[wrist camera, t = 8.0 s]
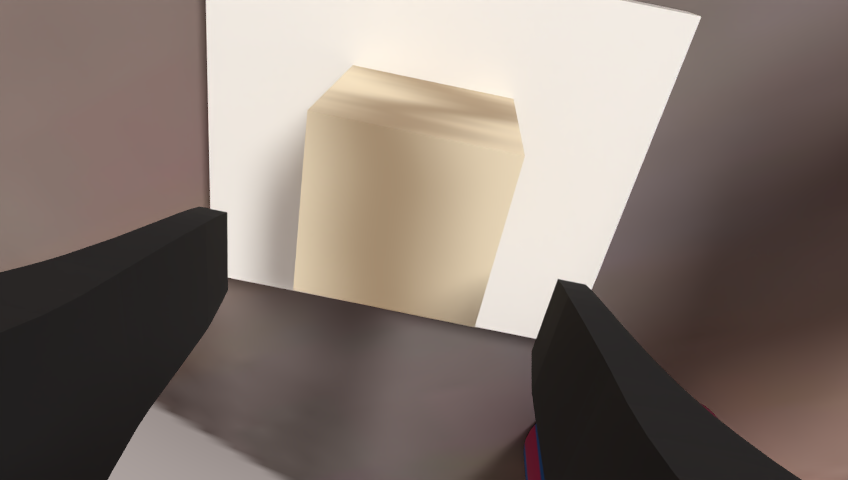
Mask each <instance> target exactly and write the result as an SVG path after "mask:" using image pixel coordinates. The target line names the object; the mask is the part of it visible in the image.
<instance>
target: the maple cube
mask: <svg viewBox="0 0 848 480" xmlns="http://www.w3.org/2000/svg"><path fill="white" fill-rule="evenodd" d="M524 157H525V154H524V149H523V144H522V139H521V134H520V129H519V124H518V119H517V114H516V109H515V104H514V99H512V98H507V97H502V96H497V95H493V94H488V93H483V92H478V91H474V90H469V89H464V88H459V87H455V86H450V85H445V84H440V83H436V82H431V81H426V80H421V79H417V78H412V77H407V76H402V75H398V74H393V73H388V72H383V71H379V70H374V69H369V68H364V67H359V66H355V65H352V66H351V67H350V68H349V69H348V70H347V71H346V72H345V73H344V74H343V75H342V76H341V77H340V78H339V79H338V80H337V81H336V82H335V83H334V84H333V85H332V86H331V87H330V88H329V89H328V90H327V91H326V92H325V93H324V94H323V95H322V96H321V97H320V98H319V99H318V100H317V101H316V102H315V103H314V104H313V105H312V106H311V107H310V108H309V109H308V110H307V121H306V133H305V146H304V159H303V171H302V184H301V197H300V209H299V222H298V235H297V247H296V260H295V273H294V285H293V290H295V291H300V292H305V293H310V294H315V295H320V296H324V297H329V298H334V299H339V300H344V301H349V302H354V303H359V304H363V305H368V306H373V307H378V308H383V309H388V310H393V311H397V312H402V313H407V314H412V315H417V316H422V317H427V318H431V319H436V320H441V321H446V322H451V323H456V324H461V325H466V326H470V327H475V324H476V321H477V317H478V314H479V311H480V307H481V304H482V300H483V297H484V294H485V290H486V287H487V283H488V280H489V277H490V273H491V270H492V266H493V263H494V260H495V256H496V253H497V249H498V246H499V243H500V239H501V236H502V232H503V229H504V226H505V222H506V219H507V215H508V212H509V208H510V205H511V202H512V198H513V195H514V191H515V188H516V185H517V181H518V178H519V174H520V171H521V168H522V164H523V161H524Z"/></svg>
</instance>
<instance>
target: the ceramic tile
mask: <svg viewBox="0 0 848 480" xmlns="http://www.w3.org/2000/svg"><path fill="white" fill-rule="evenodd" d="M700 18H701V16H698V15H696V14H693V13H690V12H687V11H682V10H677V9H672V8H668V7H663V6H658V5H653V4H648V3H643V2H638V1H633V0H206V31H207V78H208V124H209V170H210V209H213V210H218V211H223V212H227V234H228V278H233V279H238V280H243V281H248V282H253V283H258V284H263V285H268V286H273V287H278V288H283V289H288V290H293V285H294V273H295V260H296V247H297V235H298V222H299V209H300V197H301V184H302V171H303V159H304V146H305V133H306V121H307V110H308V109H309V108H310V107H311V106H312V105H313V104H314V103H315V102H316V101H317V100H318V99H319V98H320V97H321V96H322V95H323V94H324V93H325V92H326V91H327V90H328V89H329V88H330V87H331V86H332V85H333V84H334V83H335V82H336V81H337V80H338V79H339V78H340V77H341V76H342V75H343V74H344V73H345V72H346V71H347V70H348V69H349V68H350V67H351V66H352V65H355V66H359V67H364V68H369V69H374V70H379V71H383V72H388V73H393V74H398V75H402V76H407V77H412V78H417V79H421V80H426V81H431V82H436V83H440V84H445V85H450V86H455V87H459V88H464V89H469V90H474V91H478V92H483V93H488V94H493V95H497V96H502V97H507V98H512V99H514V104H515V109H516V114H517V119H518V124H519V129H520V134H521V139H522V144H523V149H524V154H525V157H524V161H523V164H522V168H521V171H520V174H519V178H518V181H517V185H516V188H515V191H514V195H513V198H512V202H511V205H510V208H509V212H508V215H507V219H506V222H505V226H504V229H503V232H502V236H501V239H500V243H499V246H498V249H497V253H496V256H495V260H494V263H493V266H492V270H491V273H490V277H489V280H488V283H487V287H486V290H485V294H484V297H483V300H482V304H481V307H480V311H479V314H478V317H477V321H476V324H475V327H479V328H484V329H489V330H494V331H499V332H504V333H509V334H514V335H519V336H525V337H530V338H535V339H536V338H537V335H538V333H539V330H540V327H541V324H542V322H543V319H544V316H545V313H546V310H547V308H548V305H549V302H550V299H551V297H552V294H553V291H554V288H555V285H556V283H557V280H558V279H561V280H566V281H571V282H576V283H581V284H585V285H587V286H588V287H589V288H590V289H591V290H592V287H593V285H594V282H595V280H596V277H597V275H598V272H599V270H600V268H601V265H602V263H603V260H604V258H605V255H606V253H607V250H608V248H609V245H610V243H611V240H612V238H613V235H614V233H615V230H616V228H617V225H618V223H619V220H620V218H621V215H622V213H623V210H624V208H625V205H626V203H627V200H628V198H629V195H630V193H631V190H632V188H633V185H634V183H635V180H636V178H637V175H638V173H639V170H640V168H641V165H642V163H643V160H644V158H645V155H646V153H647V150H648V148H649V145H650V143H651V140H652V138H653V135H654V133H655V130H656V128H657V125H658V123H659V120H660V118H661V115H662V113H663V110H664V108H665V106H666V103H667V101H668V98H669V96H670V93H671V91H672V88H673V86H674V83H675V81H676V78H677V76H678V73H679V71H680V68H681V66H682V63H683V61H684V58H685V56H686V53H687V51H688V48H689V46H690V43H691V41H692V38H693V36H694V33H695V31H696V28H697V26H698V23H699V21H700ZM293 291H295V290H293ZM298 292H300V291H298ZM303 293H305V292H303ZM308 294H310V293H308ZM313 295H315V294H313ZM318 296H320V295H318ZM323 297H324V296H323ZM328 298H329V297H328ZM333 299H334V298H333ZM338 300H339V299H338ZM343 301H344V300H343ZM348 302H349V301H348ZM353 303H354V302H353ZM358 304H359V303H358Z"/></svg>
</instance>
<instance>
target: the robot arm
mask: <svg viewBox="0 0 848 480" xmlns="http://www.w3.org/2000/svg"><path fill="white" fill-rule="evenodd" d="M227 291H228V234H227V212H223V211H218V210H213V209H208V208H203V207H197V208H193V209H190V210H187V211H184V212H181V213H178V214H175V215H173V216H170V217H168V218H165V219H162V220H160V221H157V222H155V223H152V224H149V225H147V226H144V227H142V228H139V229H136V230H134V231H131V232H129V233H126V234H123V235H121V236H118V237H115V238H113V239H110V240H107V241H104V242H101V243H98V244H95V245H92V246H89V247H86V248H83V249H80V250H78V251H75V252H72V253H69V254H66V255H63V256H59V257H56V258H53V259H49V260H46V261H42V262H39V263H35V264H32V265H28V266H24V267H20V268H16V269H12V270H8V271H4V272H0V480H107V479H108V478H109V476H110V474H111V472H112V470H113V469H114V467H115V465H116V463H117V462H118V460H119V458H120V457H121V455H122V453H123V451H124V450H125V448H126V446H127V444H128V443H129V441H130V439H131V437H132V436H133V434H134V432H135V430H136V429H137V427H138V425H139V424H140V422H141V421H142V420H143V418H144V417H145V415H146V413H147V412H148V410H149V409H150V407H151V406H152V405H153V403H154V402H155V401H156V399H157V398H158V397H159V395H160V394H161V392H162V391H163V390H164V388H165V387H166V386H167V384H168V383H169V381H170V380H171V379H172V377H173V376H174V375H175V373H176V372H177V370H178V369H179V368H180V366H181V365H182V364H183V362H184V361H185V360H186V358H187V357H188V355H189V354H190V353H191V351H192V350H193V348H194V347H195V346H196V344H197V343H198V341H199V340H200V339H201V337H202V336H203V334H204V333H205V332H206V330H207V329H208V327H209V325H210V324H211V322H212V320H213V318H214V316H215V314H216V313H217V311H218V309H219V307H220V305H221V303H222V301H223V299H224V297H225V295H226V293H227ZM532 396H533V404H534V411H535V418H536V425H537V432H538V439H539V446H540V452H541V459H542V466H543V473H544V479H545V480H801V479H800V478H798V477H796V476H795V475H794V474H792V473H791V472H789V471H788V470H786V469H785V468H783V467H782V466H780V465H779V464H777V463H776V462H774V461H773V460H772V459H770V458H769V457H767V456H766V455H765V454H763V453H762V452H761V451H759V450H758V449H757V448H755V447H754V446H753V445H751V444H750V443H749V442H747V441H746V440H744V439H743V438H742V437H740V436H739V435H738V434H736V433H735V432H734V431H733V430H731V429H730V428H729V427H727V426H726V425H725V424H724V423H722V422H721V421H720V420H719V419H717V418H716V417H715V416H714V415H713V414H712V413H710V412H709V411H708V410H707V409H706V408H705V407H703V406H702V405H701V404H700V403H699V402H698V401H696V400H695V399H694V398H693V397H692V396H691V395H690V394H688V393H687V392H686V391H685V390H684V389H683V388H682V387H681V386H680V385H679V384H678V383H677V382H676V381H675V380H674V379H673V378H672V377H671V376H669V375H668V374H667V373H666V372H665V371H664V370H663V369H662V368H661V367H660V366H659V365H658V364H657V363H656V362H655V361H654V360H653V358H652V357H651V356H650V355H649V354H648V353H647V352H646V351H645V350H644V349H643V348H642V347H641V346H640V345H639V344H638V342H637V341H636V340H635V339H634V338H633V337H632V336H631V335H630V334H629V332H628V331H627V330H626V329H625V328H624V327H623V326H622V324H621V323H620V322H619V321H618V320H617V319H616V318H615V316H614V315H613V314H612V313H611V312H610V311H609V309H608V308H607V307H606V306H605V305H604V304H603V303H602V301H601V300H600V299H599V298H598V297H597V296H596V295H595V293H594V292H593V291H592V290H591V289H590V288H589V287H588V286H587V285H585V284H581V283H576V282H571V281H566V280H561V279H558V280H557V283H556V285H555V288H554V291H553V294H552V297H551V299H550V302H549V305H548V308H547V310H546V313H545V316H544V319H543V322H542V324H541V327H540V330H539V333H538V335H537V338H536V341H535V344H534V347H533V349H532Z"/></svg>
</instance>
